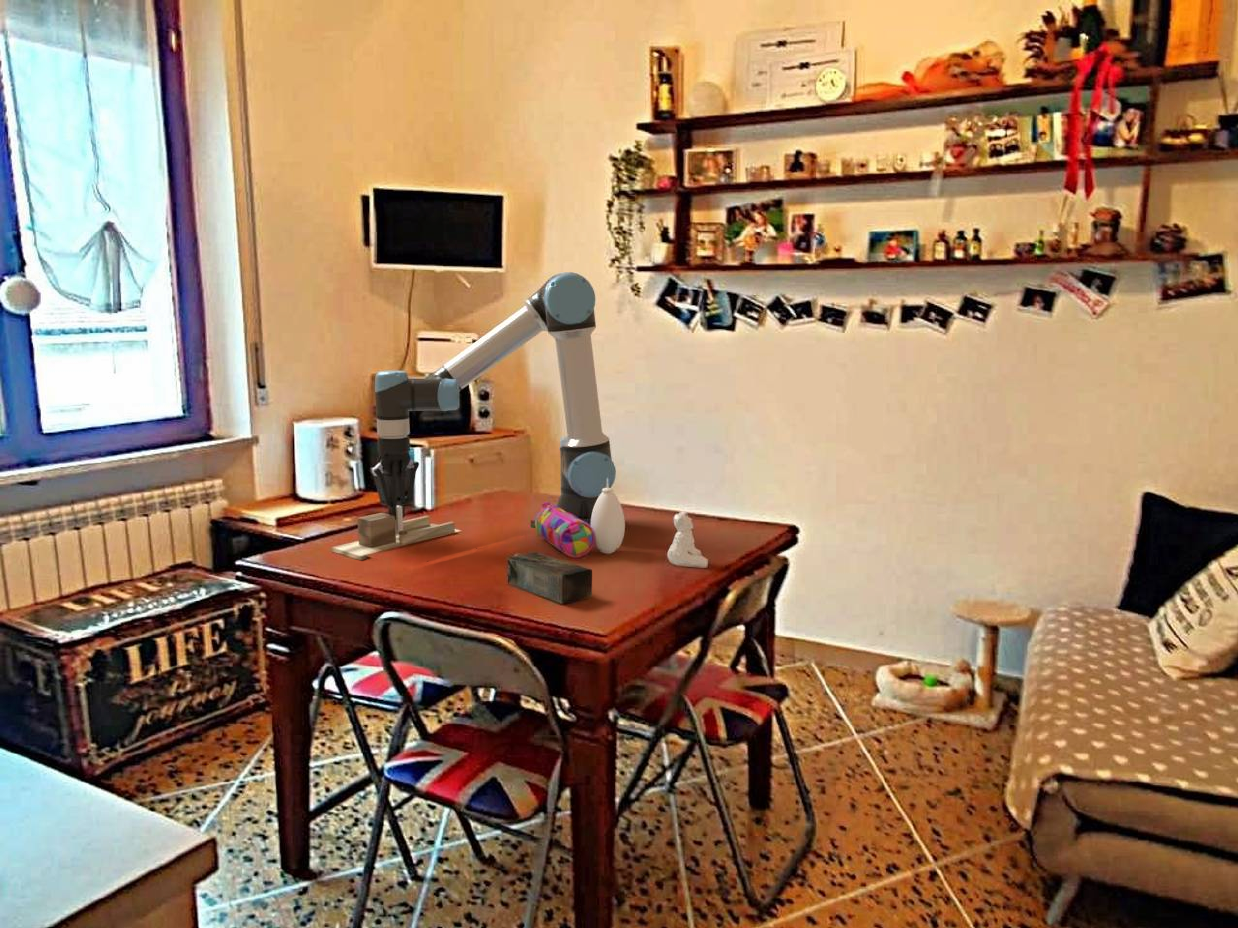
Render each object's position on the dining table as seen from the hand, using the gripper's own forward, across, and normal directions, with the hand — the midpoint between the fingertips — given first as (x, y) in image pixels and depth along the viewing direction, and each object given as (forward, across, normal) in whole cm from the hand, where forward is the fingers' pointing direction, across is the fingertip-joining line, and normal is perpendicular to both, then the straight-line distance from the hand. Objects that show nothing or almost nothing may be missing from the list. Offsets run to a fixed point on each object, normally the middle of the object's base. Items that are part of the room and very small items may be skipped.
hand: (397, 531), depth 230 cm
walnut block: (+2, +6, 0) cm, 6 cm away
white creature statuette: (+3, -32, +64) cm, 71 cm away
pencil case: (+3, -23, +33) cm, 41 cm away
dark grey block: (+3, +3, +54) cm, 54 cm away
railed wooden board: (+3, 0, 0) cm, 3 cm away
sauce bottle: (+3, -26, +45) cm, 52 cm away
